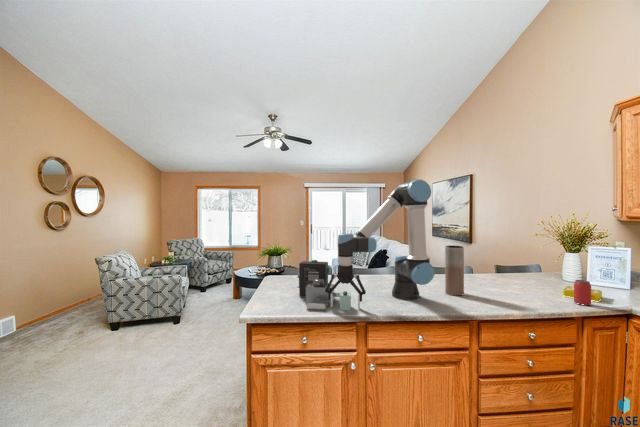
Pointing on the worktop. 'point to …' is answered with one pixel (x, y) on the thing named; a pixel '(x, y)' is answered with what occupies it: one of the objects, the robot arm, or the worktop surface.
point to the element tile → (595, 294)
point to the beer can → (582, 292)
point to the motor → (318, 295)
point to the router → (311, 274)
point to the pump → (345, 301)
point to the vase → (454, 270)
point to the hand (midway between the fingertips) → (345, 307)
